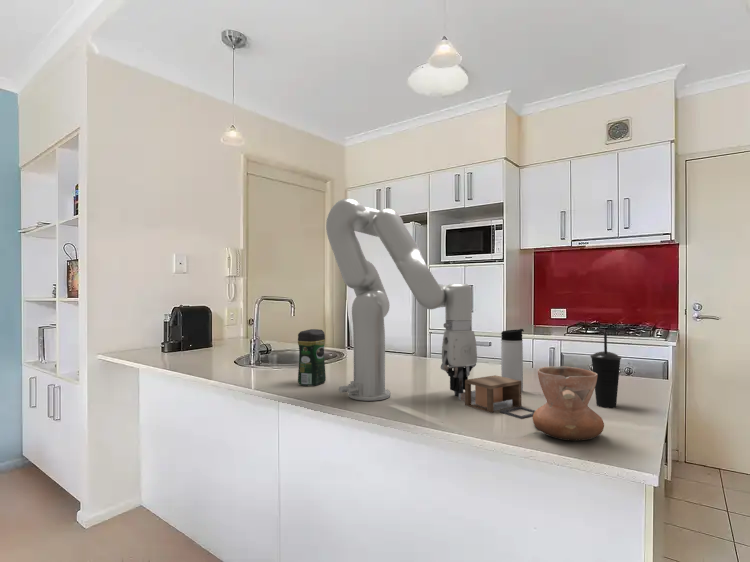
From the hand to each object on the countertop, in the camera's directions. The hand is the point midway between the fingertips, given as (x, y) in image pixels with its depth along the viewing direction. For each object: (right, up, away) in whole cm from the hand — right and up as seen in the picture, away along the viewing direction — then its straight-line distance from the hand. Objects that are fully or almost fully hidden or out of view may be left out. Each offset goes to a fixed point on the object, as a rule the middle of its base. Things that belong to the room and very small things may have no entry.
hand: (458, 389), depth 130 cm
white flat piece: (+4, -3, -6) cm, 8 cm away
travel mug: (+18, -3, +7) cm, 20 cm away
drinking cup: (+40, -3, -6) cm, 40 cm away
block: (+6, -2, -10) cm, 12 cm away
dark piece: (+12, -3, -19) cm, 22 cm away
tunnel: (+7, -3, -11) cm, 13 cm away
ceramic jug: (+18, -3, -30) cm, 36 cm away
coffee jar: (-46, -4, +23) cm, 52 cm away
